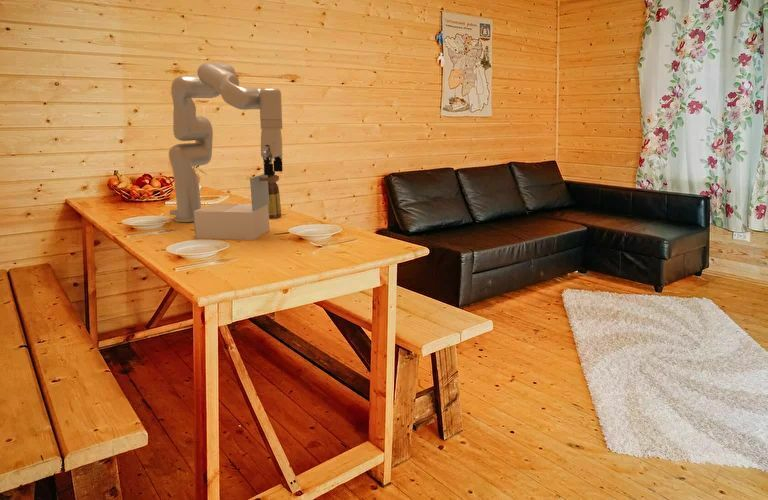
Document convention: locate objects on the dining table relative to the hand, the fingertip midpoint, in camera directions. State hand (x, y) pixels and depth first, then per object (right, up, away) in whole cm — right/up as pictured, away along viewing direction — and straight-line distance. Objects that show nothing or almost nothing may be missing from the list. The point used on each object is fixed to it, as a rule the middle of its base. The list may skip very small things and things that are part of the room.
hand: (273, 173), depth 205 cm
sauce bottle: (-7, -14, +38) cm, 41 cm away
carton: (-16, -22, +8) cm, 28 cm away
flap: (-6, -6, +2) cm, 9 cm away
